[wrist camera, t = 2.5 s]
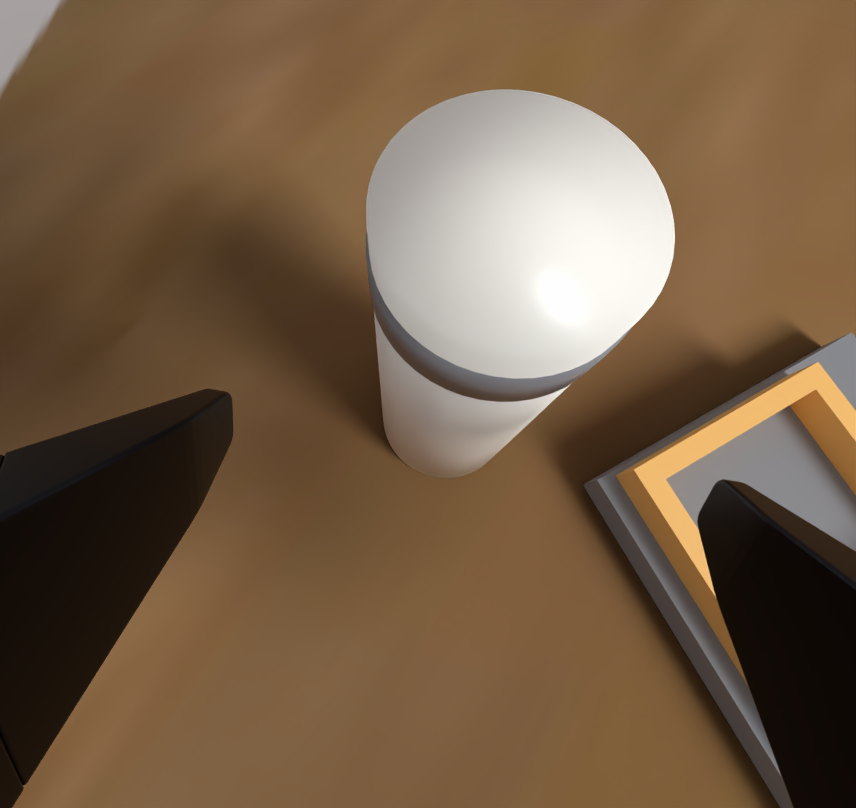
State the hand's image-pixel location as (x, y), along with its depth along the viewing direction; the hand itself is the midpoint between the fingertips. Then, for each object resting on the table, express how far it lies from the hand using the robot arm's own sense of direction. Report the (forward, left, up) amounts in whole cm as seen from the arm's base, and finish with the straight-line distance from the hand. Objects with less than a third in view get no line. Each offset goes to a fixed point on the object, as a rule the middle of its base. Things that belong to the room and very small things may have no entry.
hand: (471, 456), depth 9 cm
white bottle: (+2, +3, -11) cm, 11 cm away
